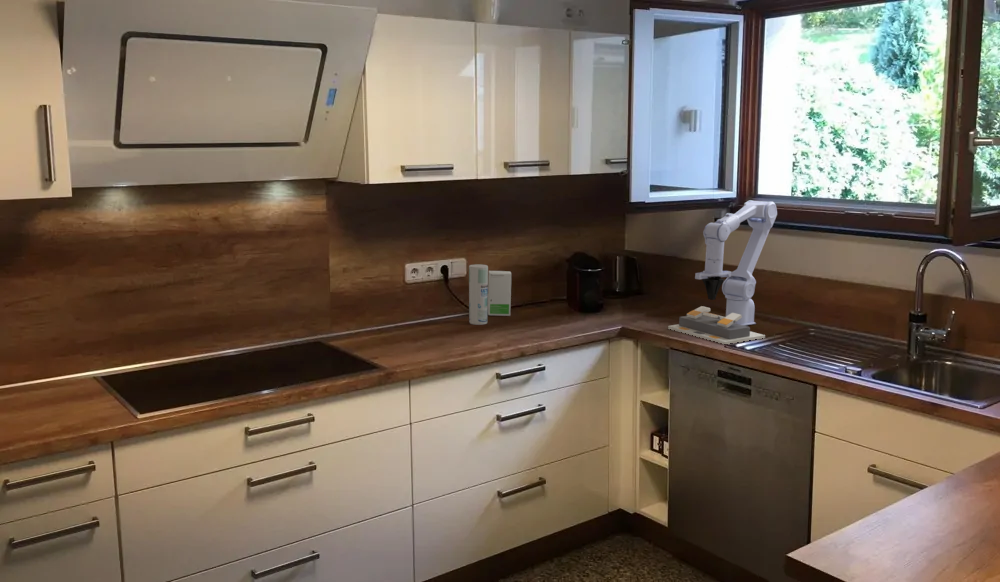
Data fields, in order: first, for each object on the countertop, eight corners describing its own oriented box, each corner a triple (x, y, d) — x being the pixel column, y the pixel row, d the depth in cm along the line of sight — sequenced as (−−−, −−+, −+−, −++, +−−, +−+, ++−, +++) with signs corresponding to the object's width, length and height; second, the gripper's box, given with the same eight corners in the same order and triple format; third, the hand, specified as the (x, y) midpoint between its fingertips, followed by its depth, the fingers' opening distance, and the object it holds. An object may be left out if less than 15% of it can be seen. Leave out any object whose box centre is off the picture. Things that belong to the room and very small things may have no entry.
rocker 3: (732, 315, 282) (731, 312, 281) (742, 317, 278) (741, 314, 278) (717, 325, 279) (716, 322, 279) (727, 328, 275) (726, 324, 275)
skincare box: (488, 316, 311) (488, 273, 308) (487, 312, 317) (487, 270, 315) (511, 315, 311) (511, 273, 308) (510, 312, 318) (510, 270, 315)
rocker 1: (701, 308, 294) (701, 305, 293) (711, 311, 290) (710, 307, 290) (686, 316, 291) (686, 313, 290) (696, 319, 287) (695, 315, 287)
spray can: (481, 325, 295) (481, 267, 292) (465, 323, 298) (465, 266, 295) (491, 322, 301) (491, 265, 297) (475, 320, 304) (475, 263, 300)
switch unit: (706, 323, 301) (707, 311, 301) (764, 338, 280) (765, 326, 279) (668, 328, 292) (668, 317, 291) (725, 344, 270) (725, 332, 270)
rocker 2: (716, 318, 288) (717, 314, 288) (726, 320, 284) (727, 317, 284) (701, 314, 284) (702, 311, 284) (711, 317, 281) (712, 313, 281)
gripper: (721, 256, 294) (718, 295, 297) (689, 258, 287) (687, 298, 289) (736, 259, 288) (733, 299, 291) (705, 261, 281) (702, 302, 283)
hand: (711, 299), depth 289 cm, fingers closed
